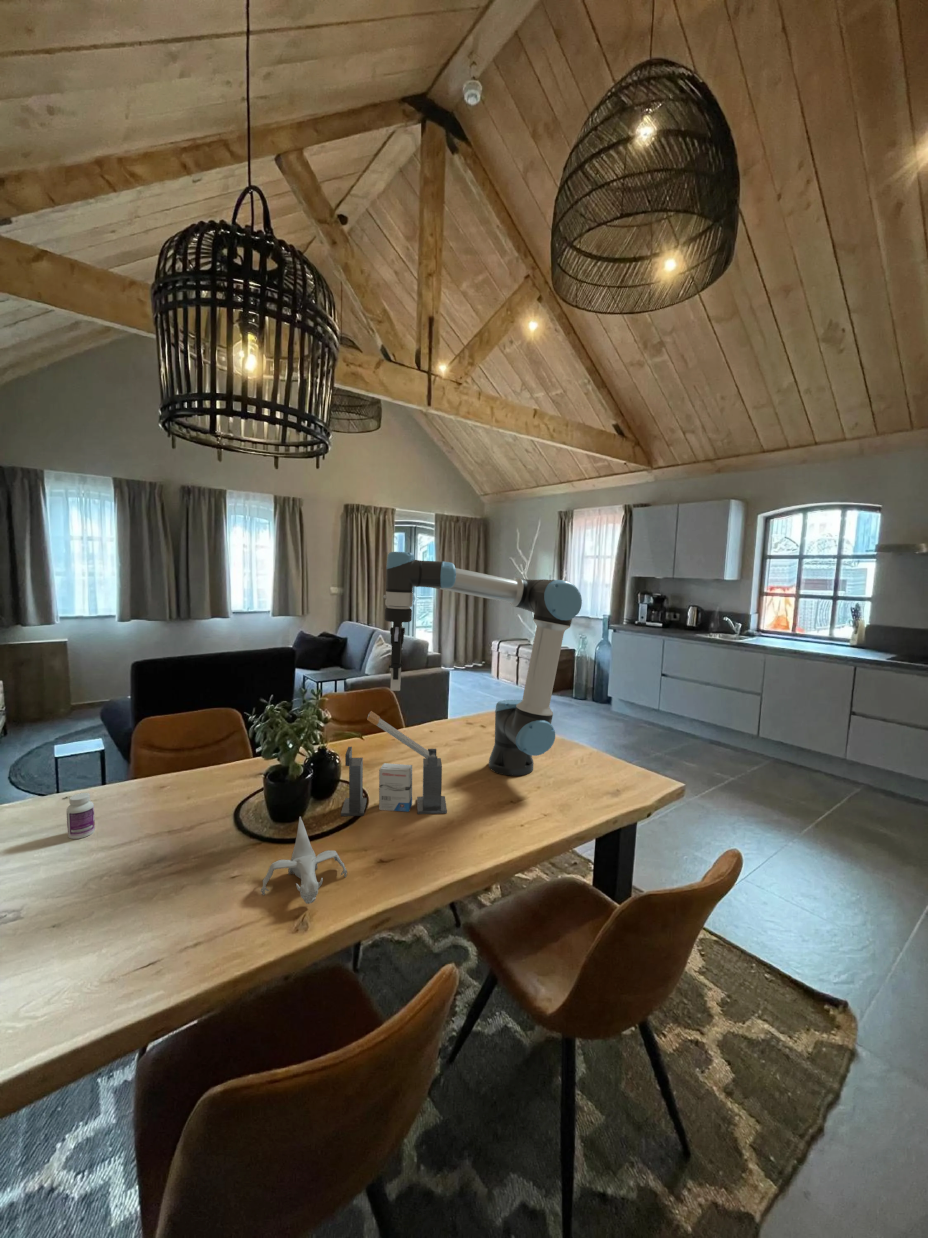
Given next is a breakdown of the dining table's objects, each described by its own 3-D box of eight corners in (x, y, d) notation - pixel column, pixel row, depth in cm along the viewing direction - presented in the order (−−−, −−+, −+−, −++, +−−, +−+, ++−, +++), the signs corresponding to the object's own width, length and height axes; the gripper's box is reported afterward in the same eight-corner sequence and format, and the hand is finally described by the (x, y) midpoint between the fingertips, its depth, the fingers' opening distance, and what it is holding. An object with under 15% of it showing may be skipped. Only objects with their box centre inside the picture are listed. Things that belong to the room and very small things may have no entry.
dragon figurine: (250, 897, 102) (249, 856, 100) (299, 852, 116) (299, 815, 114) (310, 922, 98) (311, 881, 95) (354, 872, 112) (356, 835, 109)
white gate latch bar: (432, 759, 143) (436, 754, 143) (433, 766, 138) (437, 760, 138) (367, 715, 140) (371, 710, 140) (366, 720, 135) (369, 715, 135)
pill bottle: (100, 830, 125) (98, 793, 124) (78, 841, 120) (76, 802, 119) (85, 826, 127) (83, 789, 126) (62, 837, 122) (60, 798, 121)
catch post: (366, 800, 144) (366, 744, 143) (363, 815, 136) (363, 756, 134) (345, 801, 144) (345, 745, 142) (340, 816, 135) (340, 756, 133)
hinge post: (444, 798, 147) (445, 747, 145) (446, 813, 138) (447, 758, 136) (417, 799, 146) (418, 747, 144) (417, 814, 137) (418, 759, 136)
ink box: (412, 804, 143) (413, 764, 142) (409, 812, 138) (409, 771, 137) (383, 802, 144) (383, 762, 143) (378, 810, 139) (378, 769, 138)
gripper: (387, 605, 147) (384, 684, 149) (382, 608, 134) (379, 695, 136) (412, 606, 148) (409, 685, 150) (411, 609, 135) (407, 696, 137)
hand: (395, 690), depth 143 cm, fingers closed
